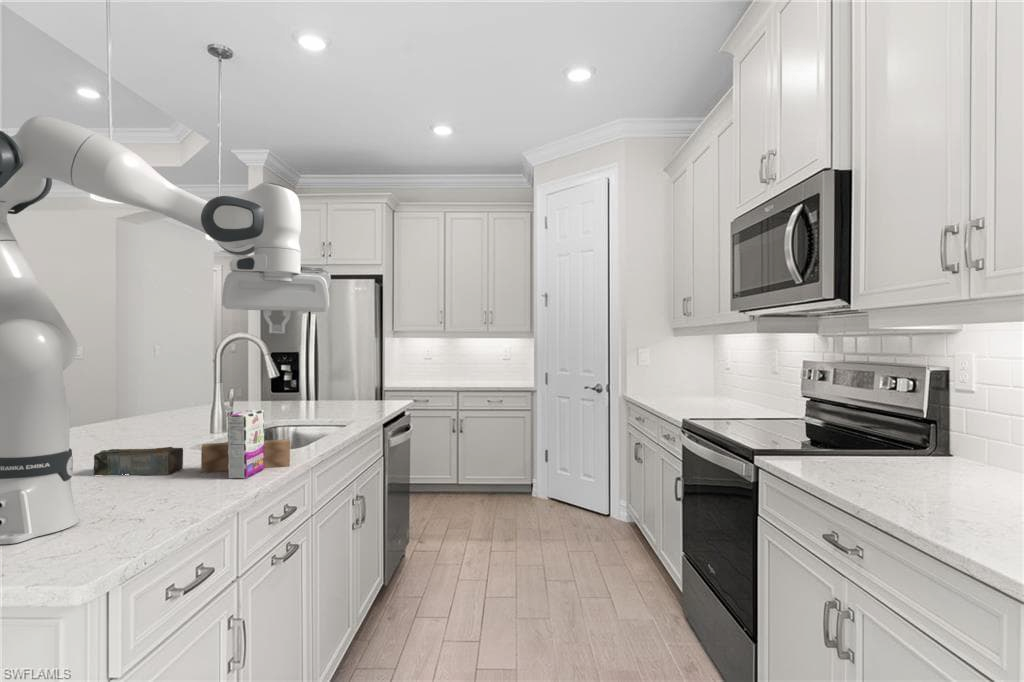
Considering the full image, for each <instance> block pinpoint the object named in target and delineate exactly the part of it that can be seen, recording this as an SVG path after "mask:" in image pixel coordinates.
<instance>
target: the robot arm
mask: <svg viewBox="0 0 1024 682" xmlns="http://www.w3.org/2000/svg"><path fill="white" fill-rule="evenodd" d="M53 180H56V181H59V182H61V183H64V184H67V185H69V186H71V187H74V188H76V189H77V190H81V191H83V192H86V193H89V194H90V195H93V196H94V195H95V196H98V197H101V198H103V199H106V200H111V201H114V202H118V203H122V204H126V205H130V206H132V207H133V206H134V207H138V208H141V209H145V210H147V211H148V210H149V211H152V212H156V213H159V214H162V215H163V216H166V217H168V218H171V219H173V220H176V221H178V222H180V223H182V224H185V225H187V226H189V227H192V228H193V229H195V230H198V231H200V232H202V233H204V234H206V235H208V236H209V237H210V238H211V239H212V240H213V241H214V242H215V243H217V245H218V246H219V247H220V248H221V249H223V250H224V251H226V253H229V254H231V255H236V256H242V257H237V258H233V259H231V260H230V262H229V270H230V271H231V272H229V273H228V274H227V275H226V276H225V279H224V281H223V282H224V283H223V288H222V293H221V294H222V296H221V305H222V306H223V308H224V309H226V310H238V311H239V310H240V311H241V310H243V311H250V310H251V311H263V317H264V319H265V321H266V322H267V324H268V332H269V334H286V333H285V331H286V329H285V328H286V326H285V325H286V324H287V323H288V321H289V320H290V318H291V316H292V313H291V312H302V313H303V312H308V313H309V312H311V313H314V312H315V313H325V312H327V311H328V310H329V308H330V295H329V289H330V287H331V283H332V280H331V279H332V277H331V274H330V273H329V271H327V270H325V269H324V268H322V267H311V266H310V267H309V266H301V265H302V249H301V246H300V237H301V234H302V211H301V210H302V209H301V203H300V199H299V196H298V195H297V194H296V193H295V191H293V190H292V189H291V188H288V187H287V186H284V185H282V184H277V183H273V182H261V183H259V184H257V185H256V186H255V187H254V188H251V189H249V190H246V191H243V192H240V193H235V194H229V195H220V196H216V197H213V198H211V199H210V200H209V201H208V200H206V199H204V198H201V197H199V196H197V195H195V194H193V193H191V192H188V191H186V190H184V189H183V188H180V187H178V186H176V185H175V184H173V183H171V182H170V181H168V179H166V178H164V176H162V175H161V174H160V173H158V171H156V170H155V169H154V168H153V167H152V165H150V164H148V162H146V161H145V160H144V159H143V158H142V157H141V156H139V155H138V154H137V153H135V152H133V151H132V150H131V149H130V148H127V147H126V146H125V145H123V144H122V143H119V142H117V141H116V140H114V139H112V138H110V137H107V136H106V135H103V134H102V133H99V132H96V131H94V130H91V129H89V128H87V127H84V126H82V125H79V124H76V123H72V122H70V121H66V120H63V119H59V118H55V117H52V116H48V115H36V116H33V117H30V118H29V119H27V120H26V121H25V122H23V123H22V125H20V128H19V130H18V131H17V132H16V134H14V135H9V134H7V133H6V132H4V131H2V130H0V545H10V544H11V545H12V544H18V543H21V542H24V541H27V540H30V539H34V538H36V537H40V536H45V535H49V534H53V533H57V532H60V531H63V530H65V529H68V528H71V527H73V526H74V525H76V524H78V523H79V522H80V518H79V515H78V513H77V509H76V506H75V505H76V504H75V503H74V497H73V491H72V485H71V484H72V483H71V482H72V481H71V479H72V476H73V472H74V471H73V469H74V456H73V449H72V448H70V427H71V426H70V424H71V423H70V422H71V421H70V420H71V419H70V417H71V416H70V415H71V414H70V409H71V408H70V406H69V405H70V404H69V402H68V399H67V393H66V386H65V381H64V380H65V379H64V371H65V370H66V369H67V368H69V366H71V365H72V363H73V362H74V361H75V358H76V357H77V353H78V342H77V339H76V338H75V336H74V334H73V333H72V332H71V330H70V328H69V326H68V324H67V323H66V321H65V319H64V318H63V317H62V314H61V313H60V312H59V310H58V309H57V308H56V306H55V304H54V303H53V301H52V300H51V298H50V297H49V296H48V294H47V293H46V291H45V290H44V288H43V287H42V284H40V282H39V280H38V278H37V277H36V275H35V273H34V271H33V269H32V267H31V265H30V264H29V260H27V258H26V255H25V254H24V252H23V250H22V248H21V247H20V244H19V242H18V241H17V239H16V237H15V235H14V233H13V232H12V230H11V227H10V225H9V222H8V214H10V215H17V214H19V213H21V212H22V211H24V210H26V209H27V208H29V207H30V206H32V205H34V204H36V203H38V202H40V201H42V200H43V199H45V198H46V196H47V195H48V194H49V193H50V191H51V189H52V185H53ZM252 253H253V254H252ZM246 255H247V256H246ZM273 311H274V312H277V311H278V312H281V311H282V316H283V317H284V319H283V321H282V322H281V323H280V324H273V322H272V320H271V318H270V317H271V316H272V312H273Z"/></svg>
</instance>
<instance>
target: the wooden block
mask: <svg viewBox="0 0 1024 682" xmlns="http://www.w3.org/2000/svg"><path fill="white" fill-rule="evenodd" d="M290 440H291V439H289V438H287V439H284V438H283V439H269V440H268V439H267V440H265V439H264V469H270V468H271V469H272V468H285V467H290V466H291V465H290V464H291V463H290V462H291V461H290V460H291V458H290V457H291V441H290ZM200 449H201V452H200V455H201V460H200V461H201V464H200V471H201V472H205V473H215V472H217V473H219V472H228V442H216V443H215V442H214V443H202V445H201V448H200ZM201 472H200V473H201Z"/></svg>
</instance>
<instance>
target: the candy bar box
mask: <svg viewBox="0 0 1024 682" xmlns="http://www.w3.org/2000/svg"><path fill="white" fill-rule="evenodd" d="M264 441H265V410H264V409H247V410H243V411H240V412H236V413H232V414H229V415H227V443H228V471H227V476H228V477H227V478H228V479H229V480H230V479H231V480H237V479H238V480H242V479H243V480H245V479H248V478H250V477H252V476H254V475H256V474H258V473H259V472H262V471H263V470H265V468H264Z"/></svg>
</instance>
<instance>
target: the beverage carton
mask: <svg viewBox="0 0 1024 682" xmlns="http://www.w3.org/2000/svg"><path fill="white" fill-rule="evenodd" d="M93 460H94V461H93V476H94V475H122V474H123V475H125V474H129V475H139V476H169V475H172V474H174V472H175V473H177V472H179V471H181V469H182V470H183V468H184V448H183V447H173V446H167V447H165V446H164V447H155V448H127V449H126V448H113V449H112V448H111V449H107V450H100V451H99V452H97V453H95V454H94V455H93ZM176 471H177V472H176Z"/></svg>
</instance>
